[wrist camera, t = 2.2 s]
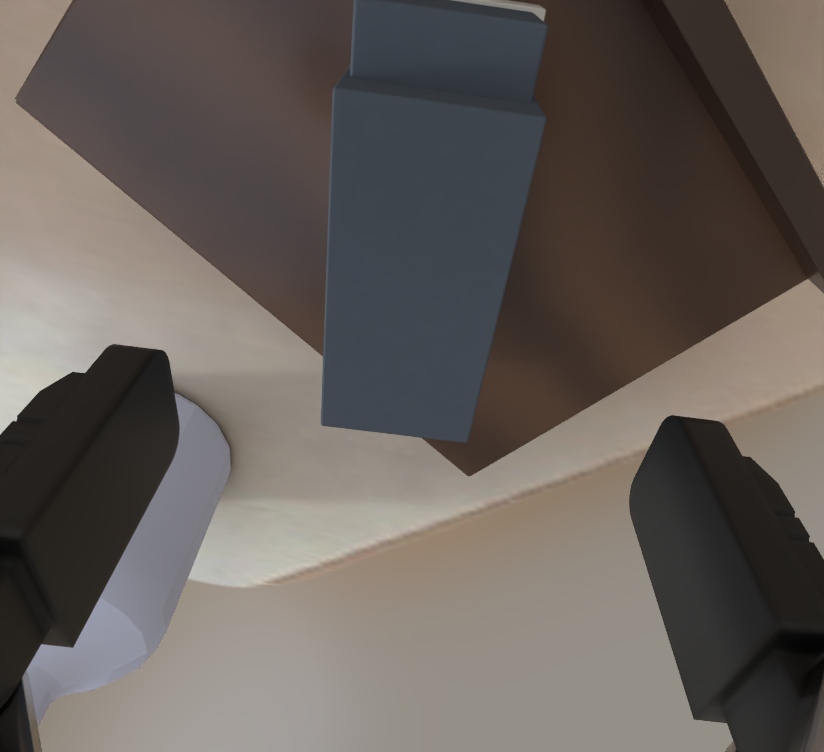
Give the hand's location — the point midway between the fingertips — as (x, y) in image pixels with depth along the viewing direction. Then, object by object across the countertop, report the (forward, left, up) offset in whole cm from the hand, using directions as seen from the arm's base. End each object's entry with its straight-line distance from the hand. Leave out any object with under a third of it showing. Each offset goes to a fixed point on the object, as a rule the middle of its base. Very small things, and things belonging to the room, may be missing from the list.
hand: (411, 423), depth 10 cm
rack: (+1, 0, -15) cm, 15 cm away
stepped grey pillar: (0, 0, -10) cm, 10 cm away
